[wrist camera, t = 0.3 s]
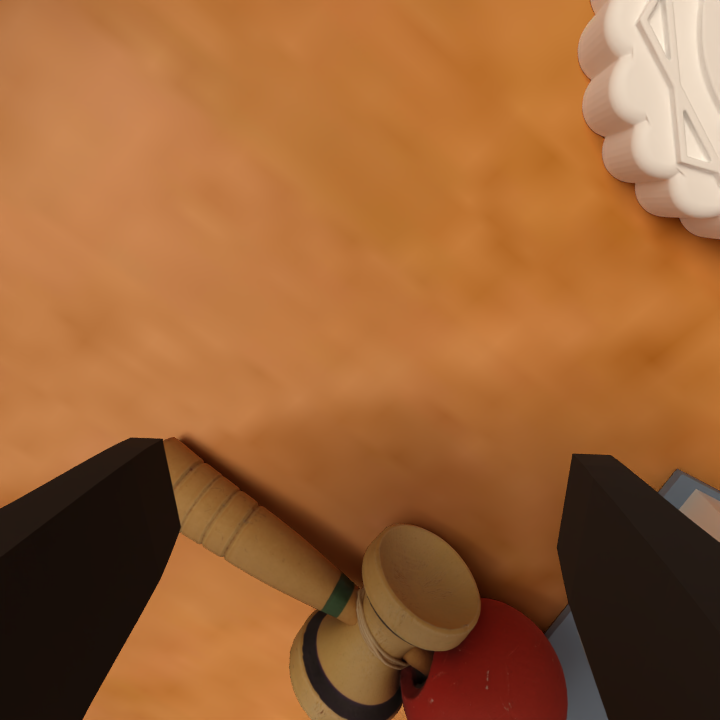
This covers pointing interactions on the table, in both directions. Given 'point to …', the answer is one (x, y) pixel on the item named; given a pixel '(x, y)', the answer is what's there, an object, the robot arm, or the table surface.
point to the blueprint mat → (563, 635)
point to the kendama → (379, 616)
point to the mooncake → (658, 103)
